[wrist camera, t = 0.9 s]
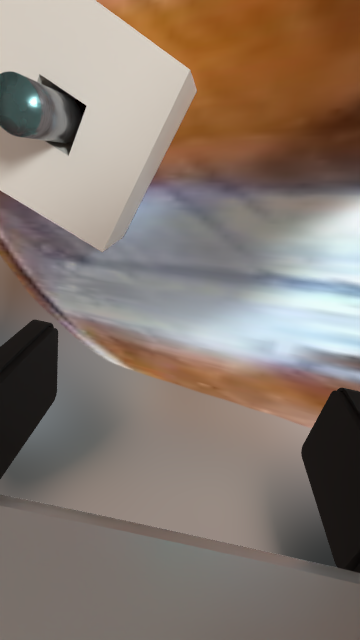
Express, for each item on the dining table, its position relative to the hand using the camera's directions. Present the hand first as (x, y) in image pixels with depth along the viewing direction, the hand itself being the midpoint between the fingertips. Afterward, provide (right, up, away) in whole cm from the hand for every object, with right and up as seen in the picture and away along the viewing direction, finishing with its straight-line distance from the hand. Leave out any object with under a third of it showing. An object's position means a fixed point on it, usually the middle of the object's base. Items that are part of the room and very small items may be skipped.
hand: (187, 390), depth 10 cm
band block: (-11, +24, +25) cm, 36 cm away
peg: (-11, +22, +19) cm, 31 cm away
